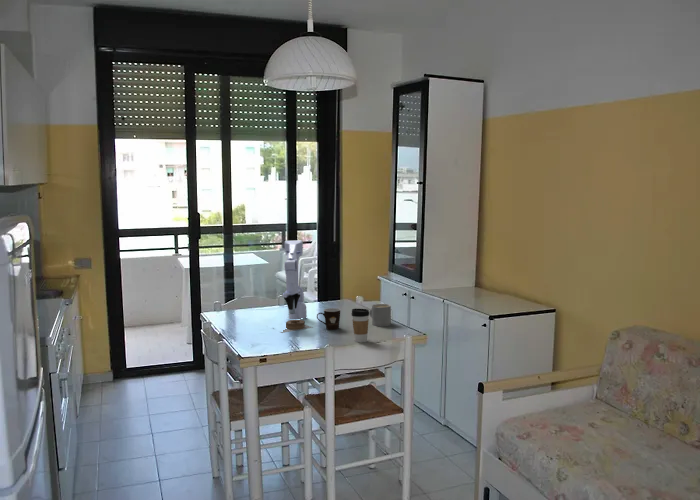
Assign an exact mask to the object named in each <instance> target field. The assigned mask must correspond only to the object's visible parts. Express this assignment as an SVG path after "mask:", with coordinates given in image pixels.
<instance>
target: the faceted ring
mask: <svg viewBox="0 0 700 500" xmlns="http://www.w3.org/2000/svg"><path fill="white" fill-rule="evenodd" d="M285 323H286V328H287V329H295V330H296V331H298V330H297V329H302V330H304V329H303V328H304V327H305V325H306V324H305V320H304V319H303V320H287V321H286V322H285Z"/></svg>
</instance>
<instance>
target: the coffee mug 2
mask: <svg viewBox="0 0 700 500" xmlns="http://www.w3.org/2000/svg"><path fill="white" fill-rule="evenodd" d="M391 308H392V306H391V304H388V303H375V304H372V305H371V307H370V308H369V316H370V317H371V322H372V323H371V325H372V326H375V327H388V326H391V325H392V309H391Z"/></svg>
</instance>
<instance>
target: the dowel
mask: <svg viewBox="0 0 700 500" xmlns="http://www.w3.org/2000/svg"><path fill="white" fill-rule="evenodd" d="M289 313H290V314H295V300H294V301H293V310H289V309H288V314H289Z"/></svg>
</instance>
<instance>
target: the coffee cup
mask: <svg viewBox="0 0 700 500" xmlns="http://www.w3.org/2000/svg"><path fill="white" fill-rule="evenodd" d="M369 316H370V309H367V308H352V309H351V317H352V320H351V321H352V329H353V336H354V337H353V338H354V341H355V342H357V343H365V342H368V333H369V332H368V331H369Z"/></svg>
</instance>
